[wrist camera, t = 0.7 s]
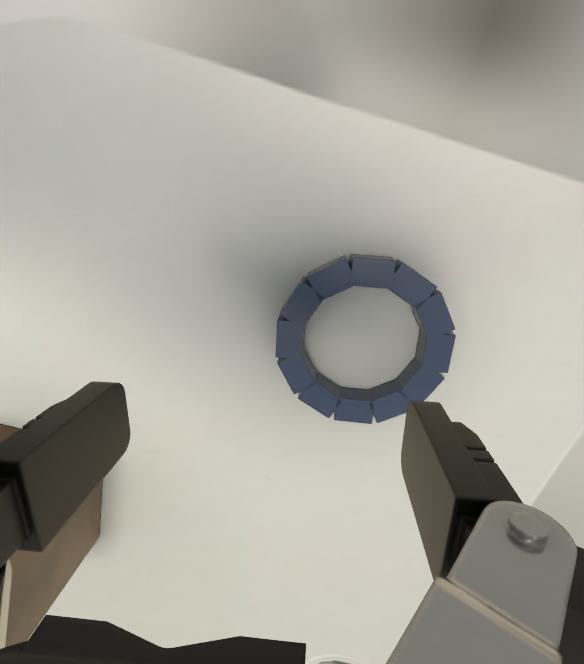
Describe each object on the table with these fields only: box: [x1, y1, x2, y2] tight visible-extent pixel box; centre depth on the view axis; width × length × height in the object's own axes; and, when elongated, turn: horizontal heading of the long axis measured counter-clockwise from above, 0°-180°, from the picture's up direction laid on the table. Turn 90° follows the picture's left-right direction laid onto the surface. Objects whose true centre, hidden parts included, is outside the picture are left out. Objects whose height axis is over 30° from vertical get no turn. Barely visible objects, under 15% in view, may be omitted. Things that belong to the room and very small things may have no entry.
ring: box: [276, 254, 455, 424], centre depth 25 cm, size 12×12×2 cm
